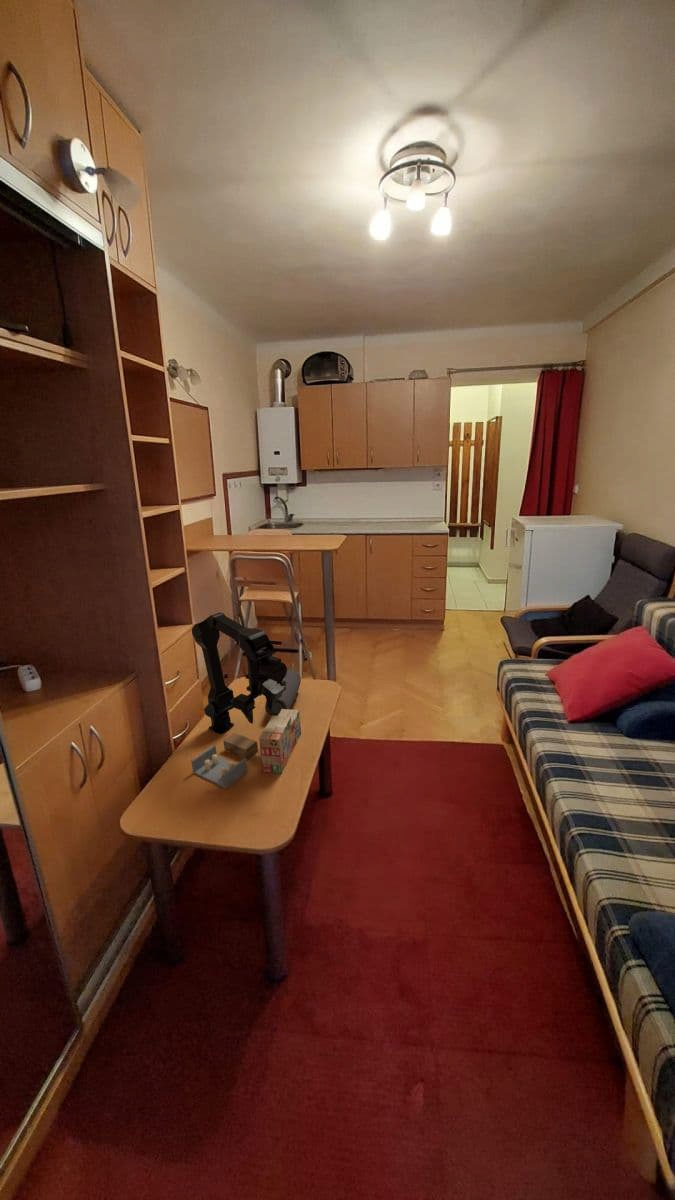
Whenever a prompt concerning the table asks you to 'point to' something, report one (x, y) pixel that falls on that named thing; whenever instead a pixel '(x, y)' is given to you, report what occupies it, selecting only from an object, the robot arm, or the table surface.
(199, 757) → the cradle
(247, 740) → the brown rectangular block
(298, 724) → the stack of blocks
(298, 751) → the table surface
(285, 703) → the bluetooth speaker
